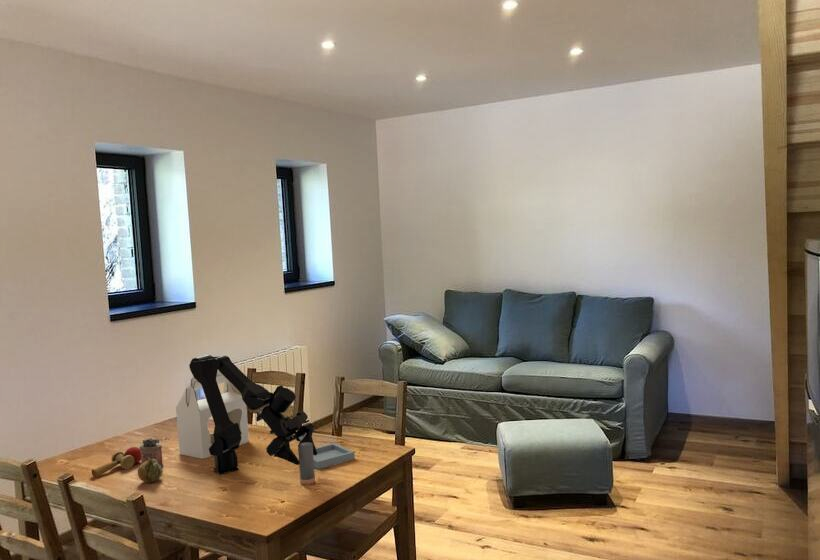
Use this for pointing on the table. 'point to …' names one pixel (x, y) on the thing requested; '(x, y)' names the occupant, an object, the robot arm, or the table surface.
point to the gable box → (206, 418)
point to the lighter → (151, 451)
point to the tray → (332, 455)
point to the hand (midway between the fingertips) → (307, 459)
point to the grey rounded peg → (306, 463)
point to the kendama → (120, 461)
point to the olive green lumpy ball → (150, 471)
